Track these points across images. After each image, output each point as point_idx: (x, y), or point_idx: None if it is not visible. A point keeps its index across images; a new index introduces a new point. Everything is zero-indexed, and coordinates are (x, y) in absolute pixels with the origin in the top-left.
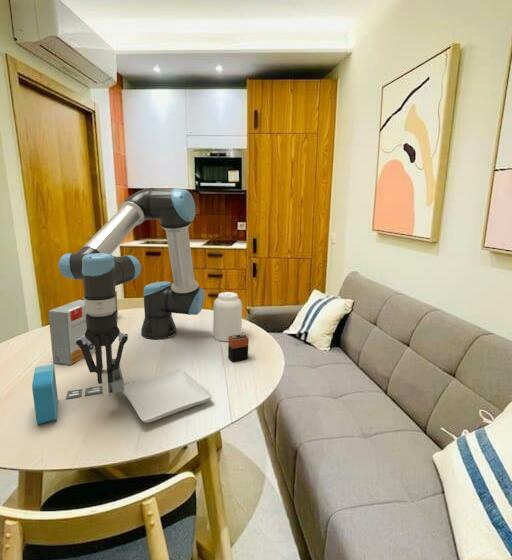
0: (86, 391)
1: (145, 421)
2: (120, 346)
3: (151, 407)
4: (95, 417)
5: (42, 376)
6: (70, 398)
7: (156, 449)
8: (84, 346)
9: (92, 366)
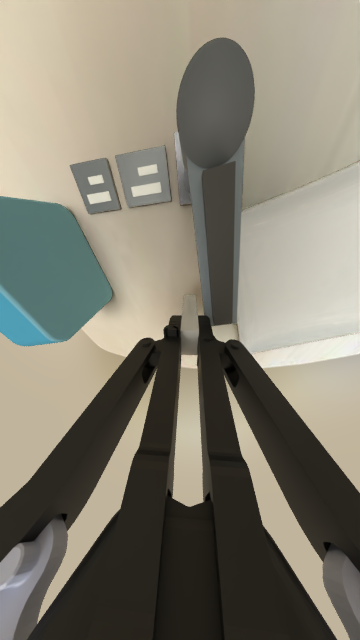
0: (125, 184)
1: None
2: (296, 499)
3: (267, 305)
4: (172, 299)
5: (4, 318)
6: (98, 212)
7: None
8: (75, 512)
9: (150, 378)
